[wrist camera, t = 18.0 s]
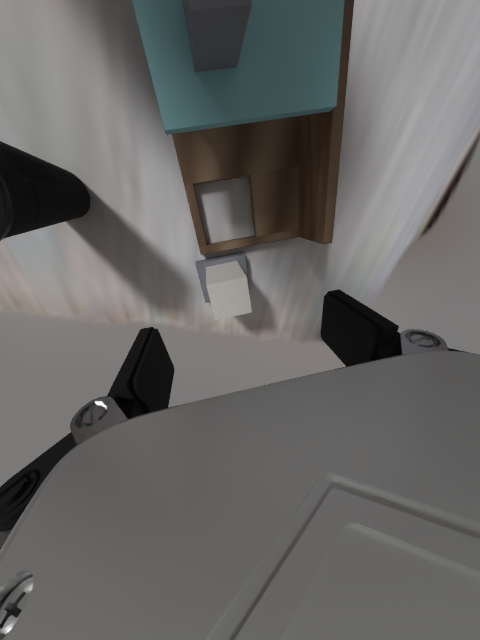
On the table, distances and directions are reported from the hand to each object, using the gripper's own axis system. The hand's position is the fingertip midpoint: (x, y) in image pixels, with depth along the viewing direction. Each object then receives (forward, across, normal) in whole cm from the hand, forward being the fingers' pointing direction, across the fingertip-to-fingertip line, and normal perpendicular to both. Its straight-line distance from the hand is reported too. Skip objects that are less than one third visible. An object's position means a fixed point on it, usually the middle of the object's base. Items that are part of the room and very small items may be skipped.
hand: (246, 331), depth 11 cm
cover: (+13, -4, -16) cm, 21 cm away
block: (+19, 0, +3) cm, 19 cm away
